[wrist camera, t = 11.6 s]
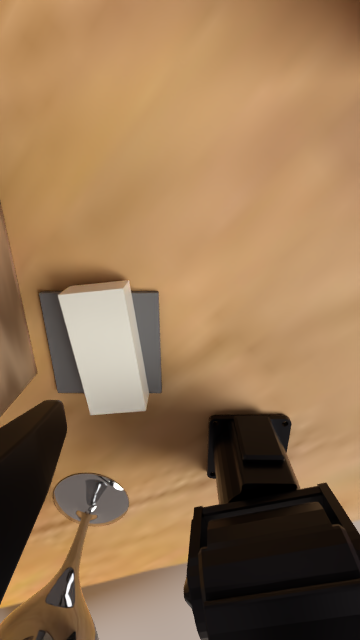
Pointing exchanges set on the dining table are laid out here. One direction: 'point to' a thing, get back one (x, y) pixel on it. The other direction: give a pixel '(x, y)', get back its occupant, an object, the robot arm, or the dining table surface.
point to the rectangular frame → (12, 330)
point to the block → (106, 346)
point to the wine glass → (69, 565)
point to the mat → (63, 352)
